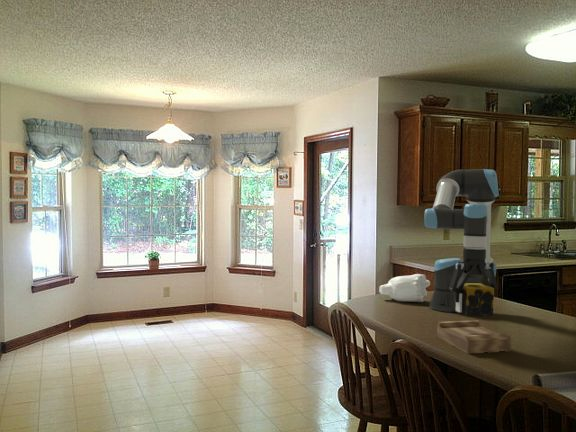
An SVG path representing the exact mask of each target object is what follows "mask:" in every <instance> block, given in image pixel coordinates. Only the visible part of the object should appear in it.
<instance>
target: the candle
mask: <svg viewBox="0 0 576 432" xmlns="http://www.w3.org/2000/svg"><path fill="white" fill-rule="evenodd" d="M460 293H462V312H457V311H456V302H454V308H453V310H454V311H456V312H455V313H458V314H460V315H462V316H464V317H467V318H470V317H471V318H472V317H473V318H475V317H477V318H478V317H482V318H485V317H493V316H494V300H495V299H494V298H495V292H494V288H492V287H489V286H487V285H483V284H481V283H465V285H464V286H463V288H462V290H461V292H460Z"/></svg>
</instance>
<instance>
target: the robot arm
mask: <svg viewBox="0 0 576 432" xmlns="http://www.w3.org/2000/svg"><path fill="white" fill-rule="evenodd" d="M435 190H436V196H435V199H434V202H433V206H432V207H431V208H426V209H425V210H424V216H423V217H424V218H423V219H424V220H423V222H424V223H423V224H424V227H426V228H427V229H434V230H437V229H439V230H440V229H441V230H442V229H443V230H444V229H447V230H449V229H450V230H463V243H462V244H463V246H462V247H464V248H463V249H462V259H463V261H462V259H461V258H460V257H450V258H441V259H438V260H436V261H435V263H434V268H433V271H434V273H433V275H434V277H433V293H432V296H431V299H430V301H429V308H430V309H431V310H434V311H439V312H444V313H445V312H446V313H458V312H462V293H460V292H461V290H462V288H463V286H464V285H465V283H481V284H483V285H487V286H489V287H492V288H494V293H495V292H497V291H498V290H499V287H498V286H499V285H498V283H497V278H496V276H497V275H496V274H497V267H498V265H497V263H495V262H494V259H493V257H491V229H492V228H491V223H492V220H491V218H492V204H493V203H494V202H495V201H496V198H497V197H499V195H500V194H499V192H500V191H499V185H498V176H497V172H496V170H494V169H485V168H481V169H479V168H478V169H456V170H453V171H450V172H448V173H446V174H445V175H443V176H442V177H441V178H440V179H439V180H438V182H437V184H436V188H435ZM456 197H466V201H467V202H468V203H466V204H465V205H464V208H454V205H455V201H456ZM454 302H456V311H457V312H456V311H454V310H453V308H454Z"/></svg>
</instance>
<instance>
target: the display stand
mask: <svg viewBox="0 0 576 432" xmlns="http://www.w3.org/2000/svg"><path fill="white" fill-rule="evenodd" d="M436 330H437V331H436V337H437V338H439V339H440V340H442V341H444V342H446V343H447V344H449V345H451V346H453V347H454V346H455V348H456V349H458V350H460V351H462V352H463V353H466V354H469V355H470V354H483V353H484V352H488V353H500V352H499V351H505V352H511V349H512V347H511V346H512V345H511V344H512V339H511V335H512V334H510V333H506V332H505V333H497V332H495V331H493V330H491V329H489V328H486V327H483V326H481V325H480V321H479V320H478V319H477V320H475V319H474V320H454V321H453V320H452V321H438V322H437V326H436ZM484 354H485V353H484Z"/></svg>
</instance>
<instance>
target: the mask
mask: <svg viewBox="0 0 576 432" xmlns="http://www.w3.org/2000/svg"><path fill="white" fill-rule="evenodd" d="M429 286H431V281H430V280H428V279H427V276H426V275H425V274H421V273H414V274H411V275H400V276H399V275H398V276H395V277H391V279H389V280H388V282H387V283H385V284H382V285H379V289H378V292H379V294H380V295H383V296H384V295H385V296H388V297H390V298H391V299H393V301H397V302H413V303H414V302H415V303H423V302H424V301H425V300H424V297H427V296H428V291H427V289H426V288H428V287H429Z"/></svg>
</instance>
